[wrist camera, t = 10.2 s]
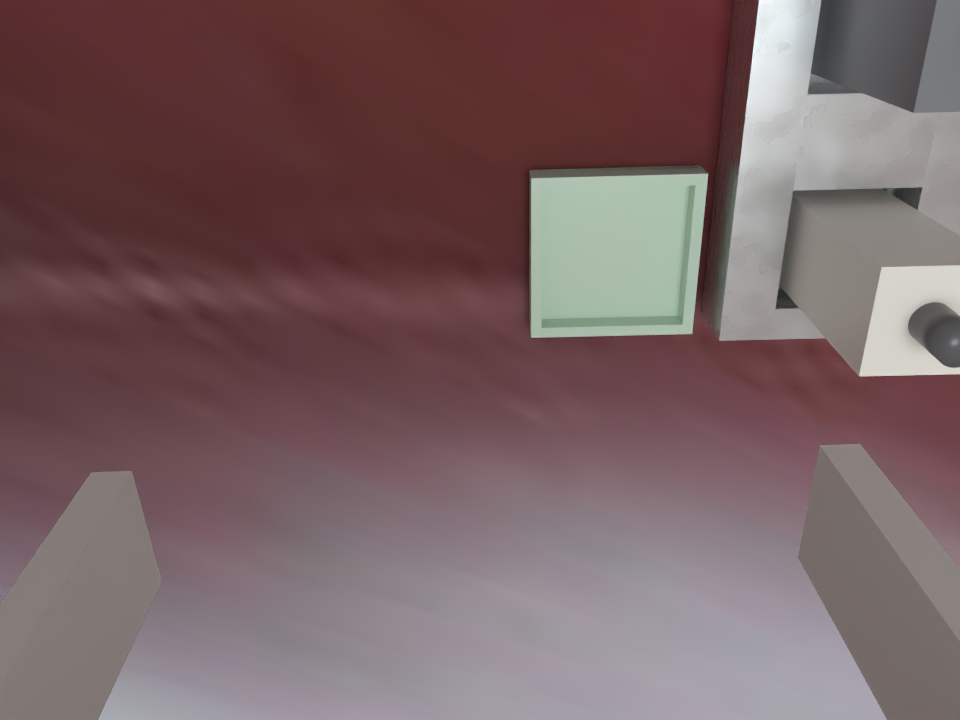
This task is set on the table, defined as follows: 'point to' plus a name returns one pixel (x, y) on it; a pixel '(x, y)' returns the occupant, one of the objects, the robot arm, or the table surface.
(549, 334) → the tray
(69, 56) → the table surface
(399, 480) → the table surface
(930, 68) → the twin plug
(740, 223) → the metal socket frame
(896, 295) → the plug
